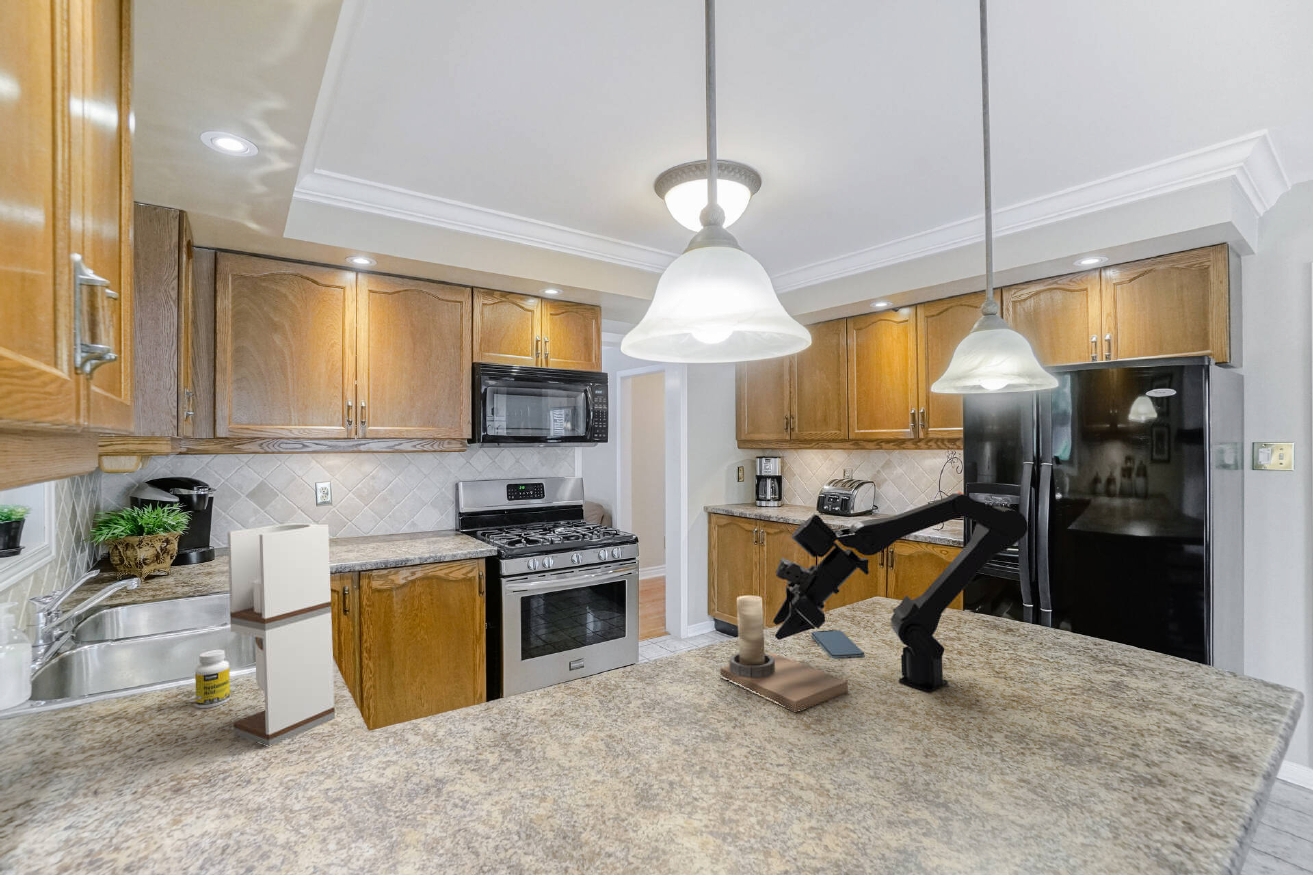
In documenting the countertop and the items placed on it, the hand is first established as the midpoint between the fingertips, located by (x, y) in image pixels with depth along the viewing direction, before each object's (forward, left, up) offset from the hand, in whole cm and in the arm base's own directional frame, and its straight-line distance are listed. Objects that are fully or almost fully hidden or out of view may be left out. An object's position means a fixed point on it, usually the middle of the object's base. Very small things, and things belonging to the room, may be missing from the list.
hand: (775, 630), depth 120 cm
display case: (+40, +81, -10) cm, 91 cm away
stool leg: (+3, +3, -8) cm, 9 cm away
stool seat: (-2, +1, -10) cm, 10 cm away
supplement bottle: (+61, +92, -10) cm, 111 cm away
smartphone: (+5, -24, -11) cm, 27 cm away
